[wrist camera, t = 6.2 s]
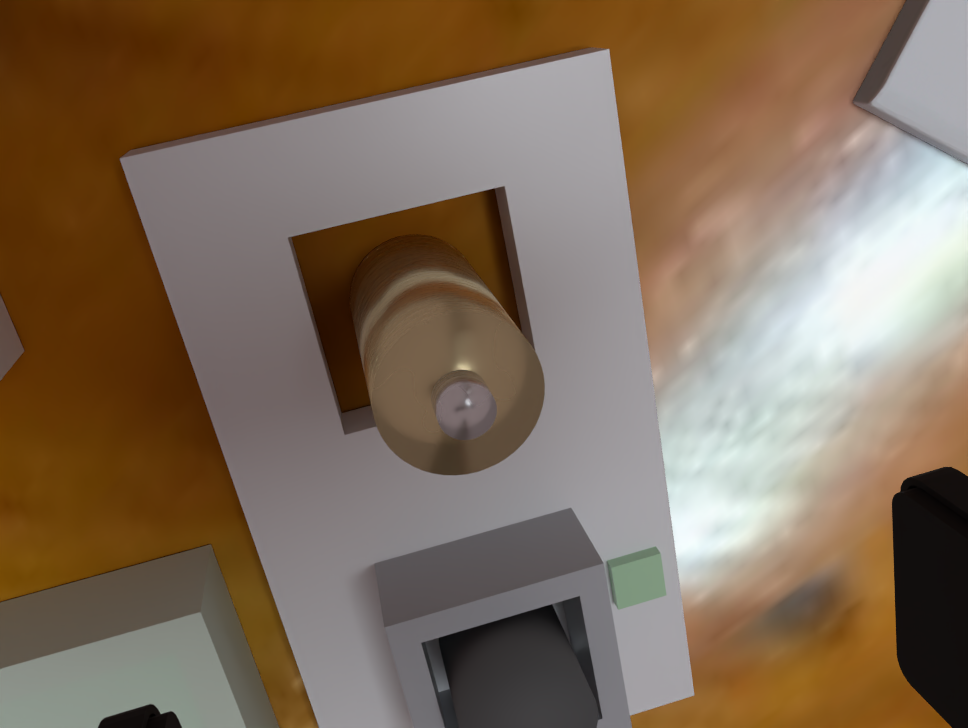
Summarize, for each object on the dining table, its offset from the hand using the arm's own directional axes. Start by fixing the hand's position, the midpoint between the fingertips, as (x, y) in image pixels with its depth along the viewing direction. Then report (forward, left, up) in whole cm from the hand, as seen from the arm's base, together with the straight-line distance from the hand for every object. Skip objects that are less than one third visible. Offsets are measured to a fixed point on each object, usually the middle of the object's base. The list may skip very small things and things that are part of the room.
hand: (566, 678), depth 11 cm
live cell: (0, 0, -15) cm, 15 cm away
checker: (+5, 0, -15) cm, 16 cm away
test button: (+10, 0, -13) cm, 16 cm away
